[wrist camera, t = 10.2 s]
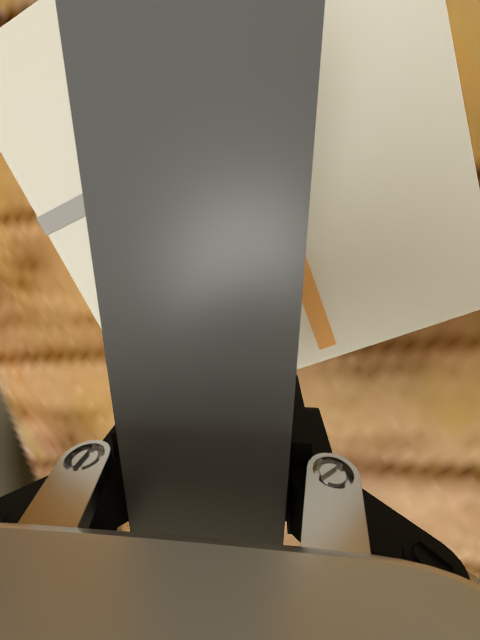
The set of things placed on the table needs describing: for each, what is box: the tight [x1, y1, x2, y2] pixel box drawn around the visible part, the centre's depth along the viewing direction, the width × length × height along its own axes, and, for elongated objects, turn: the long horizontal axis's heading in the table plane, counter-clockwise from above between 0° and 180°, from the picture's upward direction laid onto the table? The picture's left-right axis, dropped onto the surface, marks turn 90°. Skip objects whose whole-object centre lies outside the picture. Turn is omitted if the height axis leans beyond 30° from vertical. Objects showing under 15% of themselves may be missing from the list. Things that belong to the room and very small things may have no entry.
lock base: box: [0, 0, 480, 369], centre depth 14 cm, size 26×26×9 cm
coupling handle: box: [55, 0, 325, 545], centre depth 8 cm, size 19×5×6 cm, turn 179°
